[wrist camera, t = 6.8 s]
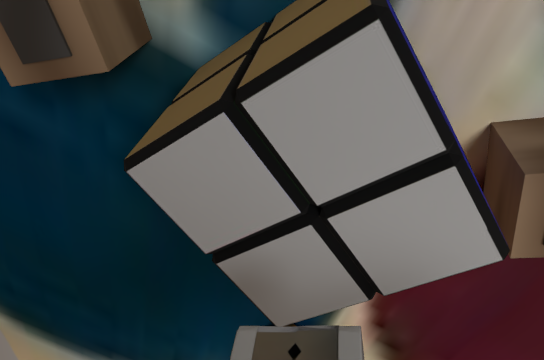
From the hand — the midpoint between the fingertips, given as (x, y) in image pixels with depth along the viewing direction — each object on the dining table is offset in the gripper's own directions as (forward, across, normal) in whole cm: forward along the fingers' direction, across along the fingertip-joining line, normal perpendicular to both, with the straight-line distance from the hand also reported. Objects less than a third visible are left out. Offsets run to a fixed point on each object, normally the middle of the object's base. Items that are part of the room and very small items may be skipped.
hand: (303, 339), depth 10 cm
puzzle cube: (+15, 0, 0) cm, 15 cm away
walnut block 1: (+15, +11, -7) cm, 20 cm away
